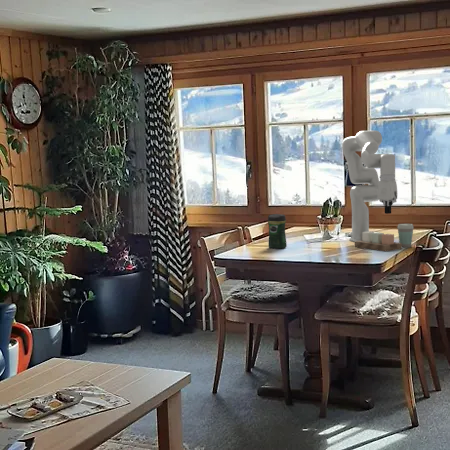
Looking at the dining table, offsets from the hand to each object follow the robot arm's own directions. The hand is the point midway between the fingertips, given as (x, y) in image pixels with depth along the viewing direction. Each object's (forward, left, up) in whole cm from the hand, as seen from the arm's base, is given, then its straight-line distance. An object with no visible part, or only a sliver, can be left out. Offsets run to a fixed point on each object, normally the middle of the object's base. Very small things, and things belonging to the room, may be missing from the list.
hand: (387, 213), depth 348 cm
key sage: (-7, 0, -16) cm, 18 cm away
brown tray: (-7, 0, -19) cm, 20 cm away
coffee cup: (0, +13, -19) cm, 23 cm away
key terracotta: (0, 0, -16) cm, 16 cm away
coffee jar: (-45, -38, -19) cm, 62 cm away
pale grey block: (-14, 0, -16) cm, 21 cm away
